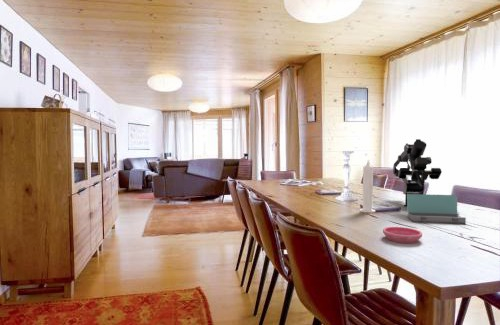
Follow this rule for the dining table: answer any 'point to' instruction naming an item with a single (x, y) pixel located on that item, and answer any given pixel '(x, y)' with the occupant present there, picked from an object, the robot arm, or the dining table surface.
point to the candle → (367, 189)
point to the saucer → (402, 234)
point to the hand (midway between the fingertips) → (422, 186)
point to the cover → (432, 203)
